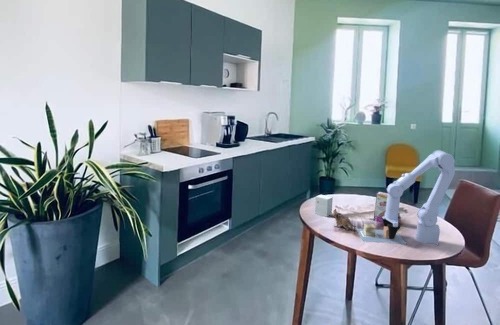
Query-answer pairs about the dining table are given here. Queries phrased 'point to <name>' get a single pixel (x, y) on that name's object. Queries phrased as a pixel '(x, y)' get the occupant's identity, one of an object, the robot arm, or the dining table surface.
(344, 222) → the dinosaur figurine
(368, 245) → the dining table surface
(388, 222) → the robot arm
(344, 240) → the dining table surface
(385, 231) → the terracotta block
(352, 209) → the dining table surface
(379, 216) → the candy bar box
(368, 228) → the birch block
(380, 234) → the board
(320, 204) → the small box
